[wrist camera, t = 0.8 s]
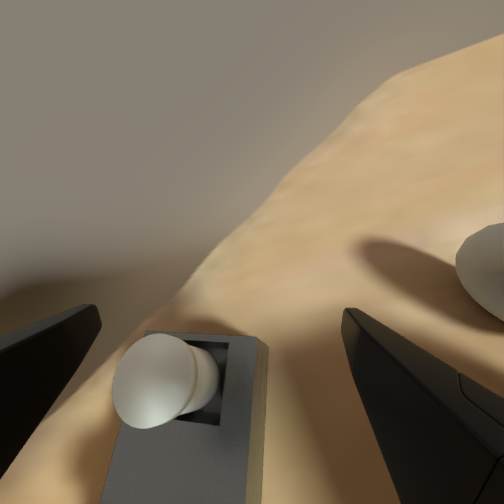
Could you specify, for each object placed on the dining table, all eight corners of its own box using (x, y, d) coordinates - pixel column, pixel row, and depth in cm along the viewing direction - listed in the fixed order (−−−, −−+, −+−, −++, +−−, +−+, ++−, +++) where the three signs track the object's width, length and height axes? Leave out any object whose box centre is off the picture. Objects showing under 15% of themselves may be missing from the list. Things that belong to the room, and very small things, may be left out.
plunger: (218, 418, 16) (180, 434, 11) (159, 410, 17) (99, 422, 12) (227, 347, 18) (197, 335, 13) (173, 344, 19) (127, 331, 14)
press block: (254, 641, 15) (226, 780, 10) (128, 599, 17) (47, 696, 12) (268, 346, 23) (256, 336, 17) (180, 341, 25) (145, 330, 19)
